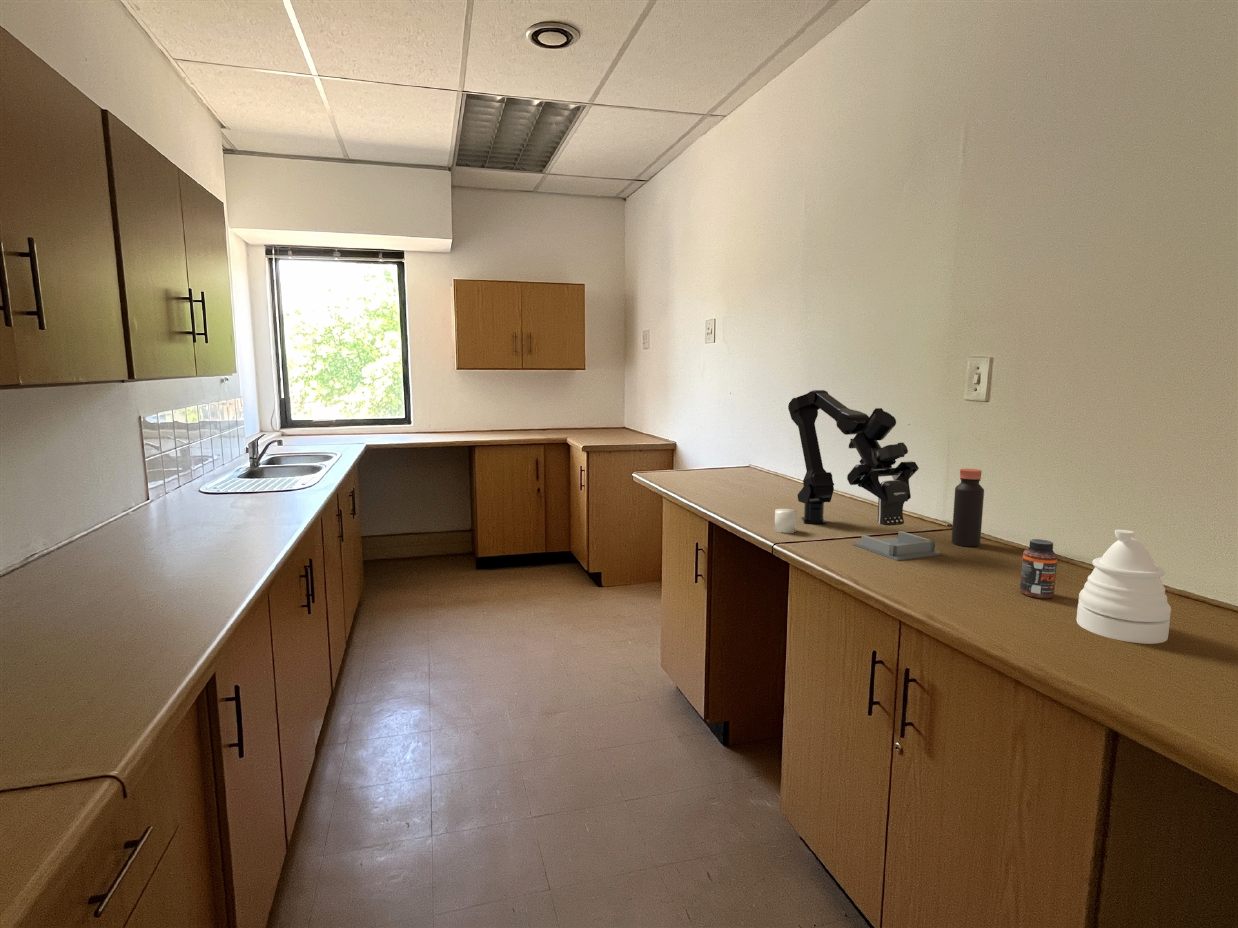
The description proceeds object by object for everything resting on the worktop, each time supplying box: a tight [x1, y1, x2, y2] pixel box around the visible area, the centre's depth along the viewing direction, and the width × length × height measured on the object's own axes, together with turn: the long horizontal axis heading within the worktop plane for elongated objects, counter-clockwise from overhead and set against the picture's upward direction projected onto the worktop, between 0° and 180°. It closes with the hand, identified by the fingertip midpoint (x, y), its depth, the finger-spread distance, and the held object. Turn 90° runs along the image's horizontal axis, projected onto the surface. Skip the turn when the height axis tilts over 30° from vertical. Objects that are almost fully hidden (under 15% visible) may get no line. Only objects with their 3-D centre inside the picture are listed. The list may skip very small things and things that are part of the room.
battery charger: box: [877, 479, 909, 527], centre depth 163 cm, size 7×4×11 cm, turn 109°
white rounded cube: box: [774, 508, 797, 534], centre depth 185 cm, size 6×6×6 cm
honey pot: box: [1076, 529, 1172, 645], centre depth 112 cm, size 13×13×18 cm
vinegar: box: [951, 468, 985, 548], centre depth 169 cm, size 7×7×20 cm
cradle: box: [852, 530, 942, 562], centre depth 165 cm, size 16×14×3 cm
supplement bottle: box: [1019, 538, 1058, 600], centre depth 130 cm, size 6×6×11 cm
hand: (897, 499), depth 162 cm, fingers closed on battery charger, 7 cm apart
